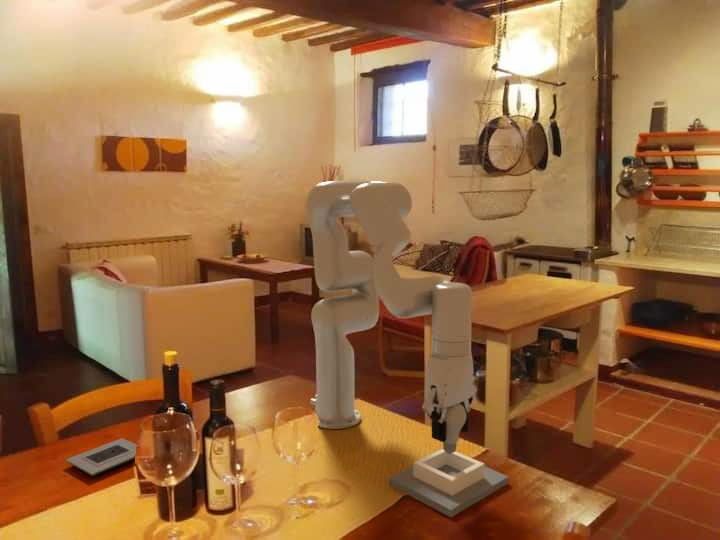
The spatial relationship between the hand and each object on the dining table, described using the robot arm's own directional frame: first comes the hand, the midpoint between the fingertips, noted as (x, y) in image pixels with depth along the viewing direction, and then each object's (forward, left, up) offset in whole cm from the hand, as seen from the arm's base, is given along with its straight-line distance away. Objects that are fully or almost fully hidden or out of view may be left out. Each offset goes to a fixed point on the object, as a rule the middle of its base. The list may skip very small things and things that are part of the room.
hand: (449, 433), depth 119 cm
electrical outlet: (-56, -47, -11) cm, 74 cm away
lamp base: (0, 0, -11) cm, 11 cm away
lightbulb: (0, 0, -4) cm, 4 cm away
